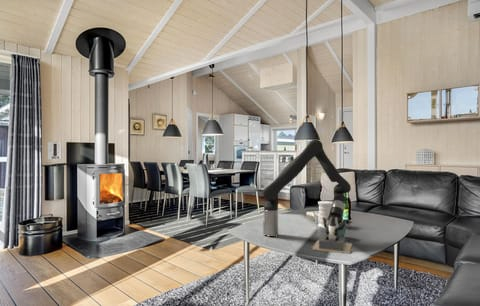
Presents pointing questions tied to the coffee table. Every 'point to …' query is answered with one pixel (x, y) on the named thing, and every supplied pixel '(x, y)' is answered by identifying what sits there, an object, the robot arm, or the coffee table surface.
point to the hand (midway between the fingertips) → (331, 234)
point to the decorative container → (324, 211)
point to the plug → (332, 230)
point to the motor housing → (332, 245)
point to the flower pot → (341, 231)
